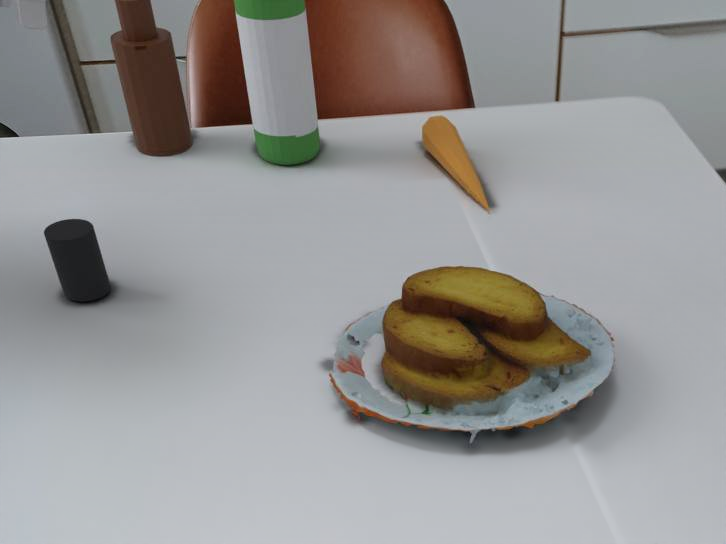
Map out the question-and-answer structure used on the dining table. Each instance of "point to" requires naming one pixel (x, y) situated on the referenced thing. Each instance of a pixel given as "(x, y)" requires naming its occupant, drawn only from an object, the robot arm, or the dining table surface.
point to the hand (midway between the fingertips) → (14, 16)
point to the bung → (77, 259)
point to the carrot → (452, 155)
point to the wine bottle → (279, 79)
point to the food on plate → (475, 353)
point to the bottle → (150, 81)
